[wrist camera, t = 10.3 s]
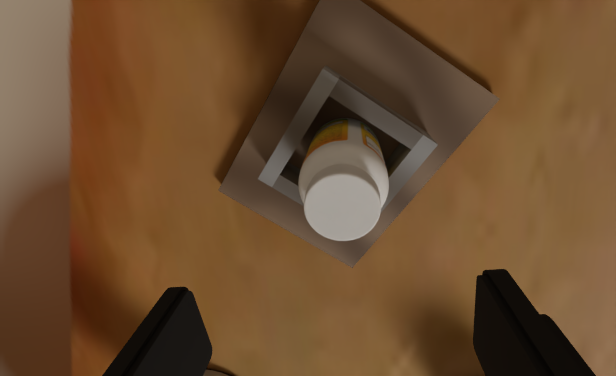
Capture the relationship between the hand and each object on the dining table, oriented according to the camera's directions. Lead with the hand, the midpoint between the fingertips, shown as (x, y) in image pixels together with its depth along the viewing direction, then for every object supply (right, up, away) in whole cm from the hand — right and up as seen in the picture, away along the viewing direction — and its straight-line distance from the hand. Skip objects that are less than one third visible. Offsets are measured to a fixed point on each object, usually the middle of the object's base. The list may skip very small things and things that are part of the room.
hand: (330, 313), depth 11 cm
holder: (+2, +8, +15) cm, 17 cm away
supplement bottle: (+2, +7, +15) cm, 17 cm away
